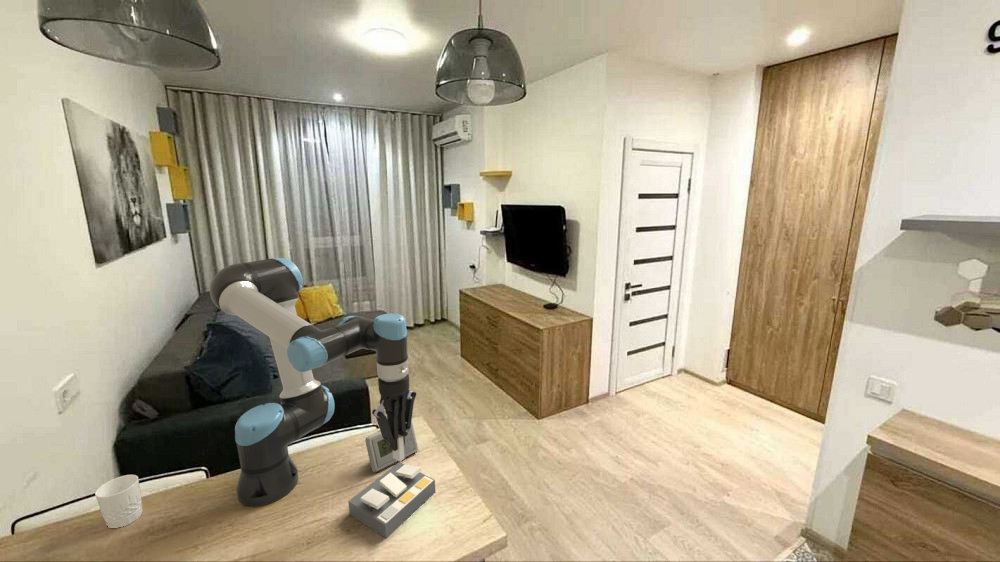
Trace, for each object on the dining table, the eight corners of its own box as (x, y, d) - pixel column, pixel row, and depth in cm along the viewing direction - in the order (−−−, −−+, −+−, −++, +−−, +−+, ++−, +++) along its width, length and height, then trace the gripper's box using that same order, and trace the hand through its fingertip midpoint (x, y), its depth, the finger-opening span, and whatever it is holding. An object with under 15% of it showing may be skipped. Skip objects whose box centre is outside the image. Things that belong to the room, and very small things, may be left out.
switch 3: (396, 477, 110) (395, 471, 110) (406, 469, 113) (405, 464, 113) (412, 480, 106) (411, 475, 106) (422, 472, 110) (420, 467, 109)
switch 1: (361, 503, 100) (360, 497, 100) (373, 493, 103) (372, 488, 103) (378, 511, 97) (377, 506, 96) (389, 501, 100) (388, 496, 100)
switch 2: (379, 485, 105) (379, 480, 104) (389, 476, 108) (390, 472, 107) (395, 499, 102) (396, 494, 101) (406, 490, 105) (406, 485, 105)
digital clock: (371, 476, 116) (368, 444, 114) (363, 459, 123) (361, 429, 121) (422, 457, 124) (421, 427, 122) (412, 442, 132) (411, 414, 130)
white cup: (144, 502, 106) (137, 470, 104) (146, 518, 100) (138, 485, 98) (103, 518, 101) (95, 485, 98) (103, 537, 95) (94, 502, 93)
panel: (349, 514, 102) (348, 499, 101) (400, 473, 117) (399, 460, 116) (386, 538, 95) (385, 522, 94) (435, 492, 110) (434, 478, 109)
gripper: (383, 390, 90) (389, 478, 95) (422, 369, 100) (426, 449, 105) (362, 381, 94) (369, 467, 99) (402, 362, 104) (406, 440, 109)
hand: (398, 458), depth 102 cm, fingers closed
